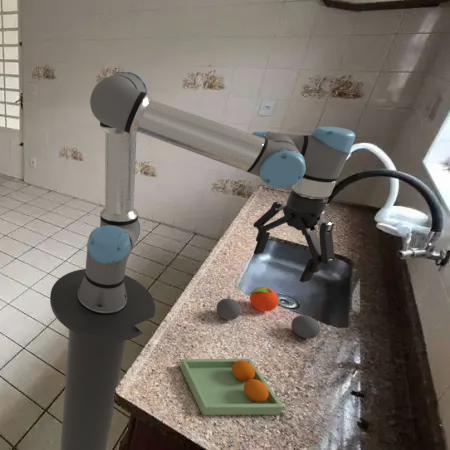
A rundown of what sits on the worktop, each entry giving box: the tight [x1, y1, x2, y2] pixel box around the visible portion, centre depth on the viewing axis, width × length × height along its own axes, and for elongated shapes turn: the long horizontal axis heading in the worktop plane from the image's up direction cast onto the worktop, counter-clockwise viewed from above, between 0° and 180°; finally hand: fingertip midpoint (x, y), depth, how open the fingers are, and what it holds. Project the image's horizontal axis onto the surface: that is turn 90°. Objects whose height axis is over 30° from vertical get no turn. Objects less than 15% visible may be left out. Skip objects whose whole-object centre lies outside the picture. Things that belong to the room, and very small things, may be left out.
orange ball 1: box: [232, 360, 255, 381], centre depth 82 cm, size 5×5×5 cm
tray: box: [179, 358, 284, 416], centre depth 80 cm, size 17×13×3 cm
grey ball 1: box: [215, 298, 242, 321], centre depth 100 cm, size 6×6×6 cm
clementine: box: [249, 286, 279, 312], centre depth 103 cm, size 8×7×7 cm
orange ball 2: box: [244, 379, 269, 402], centre depth 77 cm, size 5×5×5 cm
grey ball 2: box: [290, 315, 321, 340], centre depth 93 cm, size 6×6×6 cm
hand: (279, 266), depth 94 cm, fingers open, 13 cm apart
